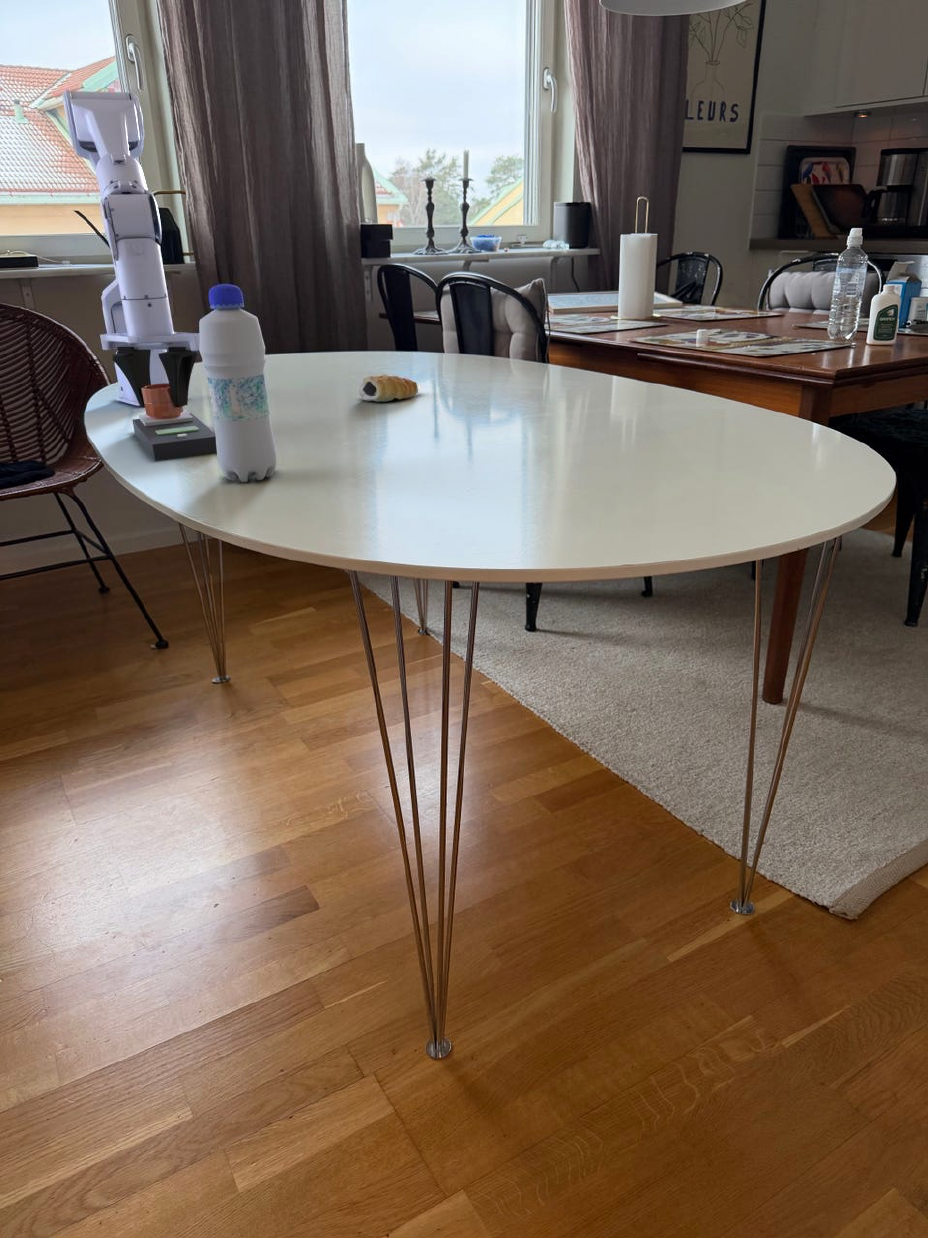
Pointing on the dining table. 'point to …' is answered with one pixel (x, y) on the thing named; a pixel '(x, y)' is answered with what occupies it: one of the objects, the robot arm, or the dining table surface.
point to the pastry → (387, 388)
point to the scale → (175, 436)
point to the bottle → (237, 386)
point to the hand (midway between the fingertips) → (163, 405)
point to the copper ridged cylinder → (160, 402)
